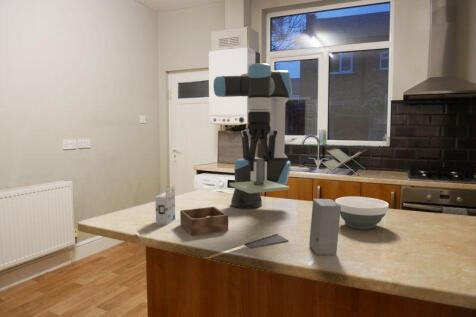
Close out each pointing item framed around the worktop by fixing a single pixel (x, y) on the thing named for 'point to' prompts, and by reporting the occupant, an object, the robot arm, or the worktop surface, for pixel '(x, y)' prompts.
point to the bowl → (362, 211)
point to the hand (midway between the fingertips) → (258, 180)
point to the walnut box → (203, 220)
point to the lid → (259, 181)
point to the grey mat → (266, 241)
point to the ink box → (165, 207)
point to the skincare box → (324, 226)
